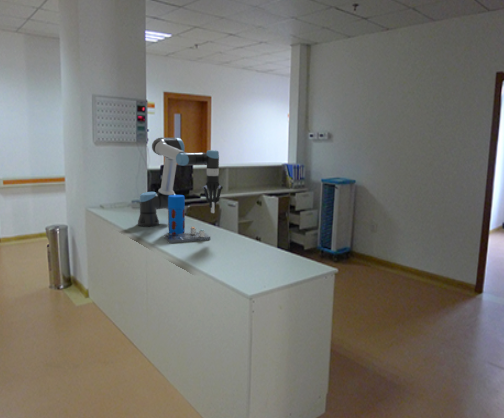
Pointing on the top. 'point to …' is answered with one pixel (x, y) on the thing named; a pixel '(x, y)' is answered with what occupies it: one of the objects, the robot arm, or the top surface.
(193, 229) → the fader
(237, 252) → the top surface
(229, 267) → the top surface
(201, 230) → the fader
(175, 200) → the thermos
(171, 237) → the console
